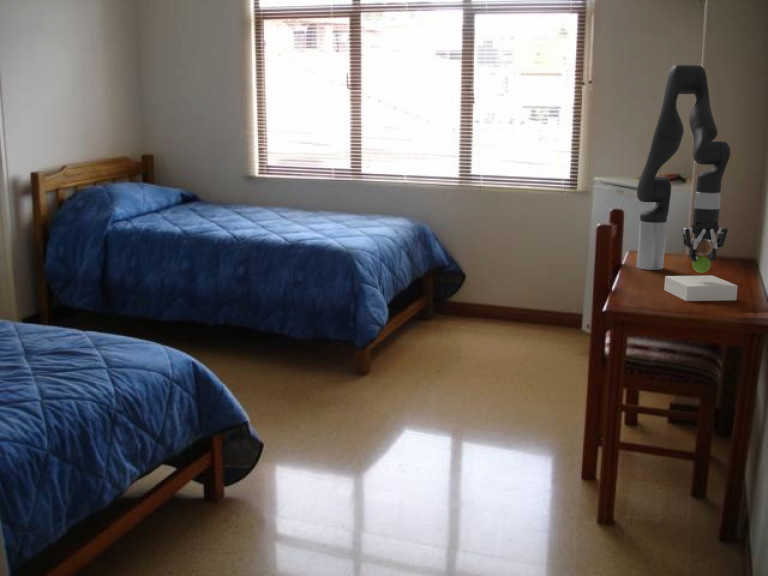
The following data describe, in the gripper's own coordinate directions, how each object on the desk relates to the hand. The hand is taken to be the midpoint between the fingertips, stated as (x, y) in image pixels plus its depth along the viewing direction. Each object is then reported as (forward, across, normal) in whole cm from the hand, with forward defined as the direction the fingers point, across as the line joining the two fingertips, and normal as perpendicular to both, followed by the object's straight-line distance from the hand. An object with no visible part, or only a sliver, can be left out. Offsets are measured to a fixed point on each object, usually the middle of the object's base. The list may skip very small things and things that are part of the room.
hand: (702, 260), depth 256 cm
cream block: (+12, 0, 0) cm, 12 cm away
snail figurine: (+4, 0, 0) cm, 4 cm away
